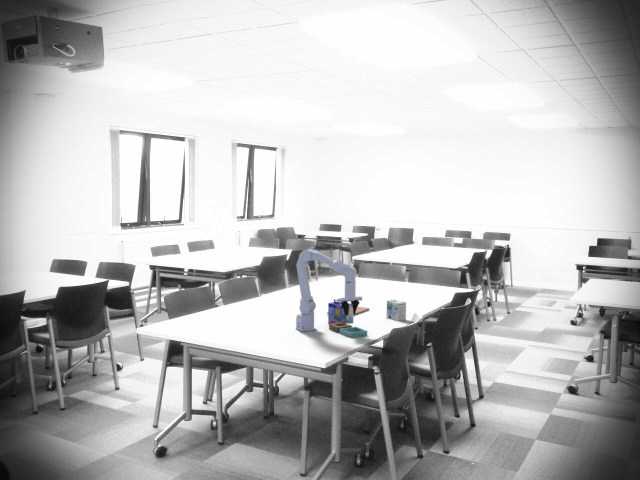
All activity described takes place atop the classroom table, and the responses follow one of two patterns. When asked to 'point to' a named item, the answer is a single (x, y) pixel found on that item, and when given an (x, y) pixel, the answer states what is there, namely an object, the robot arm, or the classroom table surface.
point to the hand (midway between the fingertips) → (349, 314)
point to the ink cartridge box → (336, 313)
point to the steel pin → (350, 314)
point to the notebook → (360, 310)
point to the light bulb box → (396, 310)
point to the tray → (353, 332)
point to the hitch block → (338, 326)
